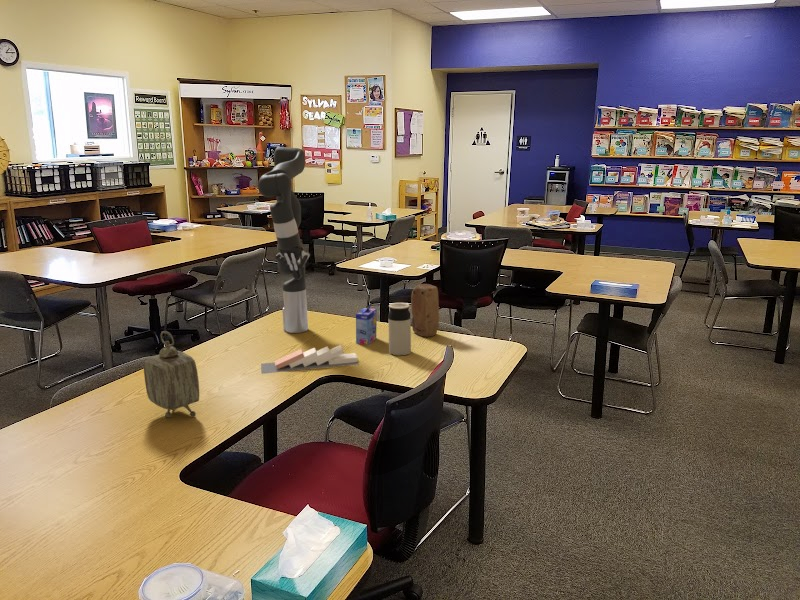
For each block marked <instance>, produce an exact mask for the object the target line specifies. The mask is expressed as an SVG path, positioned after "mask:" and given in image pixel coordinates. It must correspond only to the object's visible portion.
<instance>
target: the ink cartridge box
mask: <svg viewBox="0 0 800 600" xmlns="http://www.w3.org/2000/svg"><path fill="white" fill-rule="evenodd" d="M371 306H372V304H370V305H368V307H363V308H362V309H360V310H359V311H358V312H357V313H355V344H360V345H369V344H371V343H373V342H374V341H375V340H376V339H377V322H378V321H377V320H378V319H377V313H378V312H377V311H378V310H377V308H371Z"/></svg>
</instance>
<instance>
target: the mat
mask: <svg viewBox="0 0 800 600" xmlns="http://www.w3.org/2000/svg"><path fill="white" fill-rule="evenodd" d="M356 365H357V366H359V365H360V364H359V361H358V362H352V363H341V364H331V365H329V363H328V361H326V362H324V363H322V364H320V365H317V363H316V362H314V363H312V364H310V365H308V366H306V367H304V365H303V363H301V364H299V365H297V366H295V367H293V368H291V367H290V365H286V366H284V367H282V368H280V369H278V370H277V368H276V366H275V361H274V362H266V363H261V364H260V369H261V372H260V373H261V374H262V375H263V374H272V373H273V374H275V373H283V372H294V371H305V370H306V371H307V370H314V369H317V370H318V369H325V368H334V367H335V368H337V367H346V366H356Z"/></svg>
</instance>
